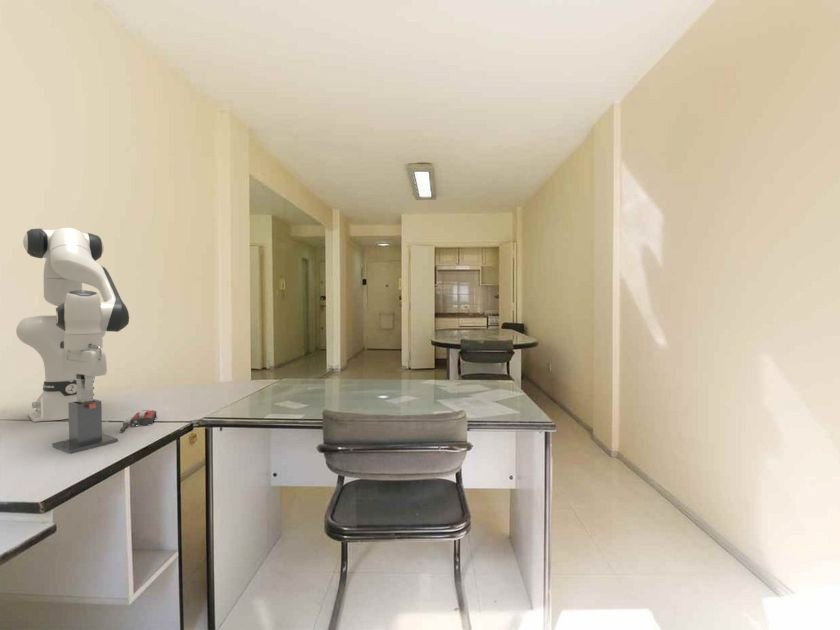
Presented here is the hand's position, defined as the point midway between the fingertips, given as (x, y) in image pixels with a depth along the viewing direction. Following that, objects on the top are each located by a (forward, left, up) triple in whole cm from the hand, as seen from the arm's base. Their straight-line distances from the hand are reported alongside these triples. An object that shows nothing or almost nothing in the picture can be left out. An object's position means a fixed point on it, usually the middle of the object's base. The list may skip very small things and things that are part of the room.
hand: (84, 388), depth 122 cm
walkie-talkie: (-9, +19, -18) cm, 27 cm away
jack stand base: (0, 0, -17) cm, 17 cm away
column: (0, 0, -16) cm, 16 cm away
